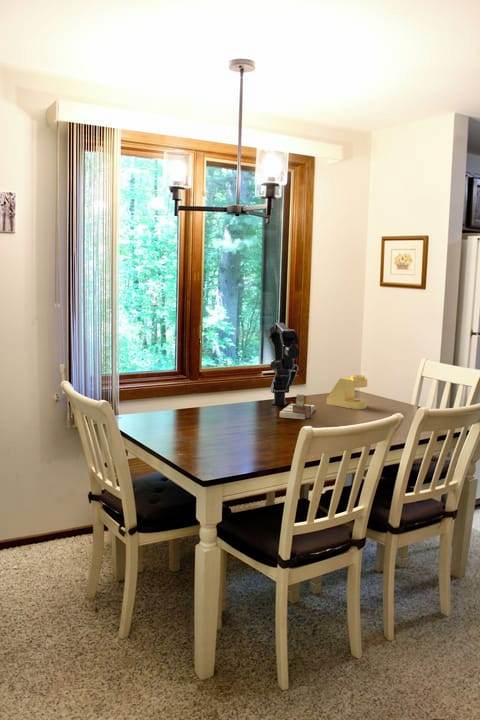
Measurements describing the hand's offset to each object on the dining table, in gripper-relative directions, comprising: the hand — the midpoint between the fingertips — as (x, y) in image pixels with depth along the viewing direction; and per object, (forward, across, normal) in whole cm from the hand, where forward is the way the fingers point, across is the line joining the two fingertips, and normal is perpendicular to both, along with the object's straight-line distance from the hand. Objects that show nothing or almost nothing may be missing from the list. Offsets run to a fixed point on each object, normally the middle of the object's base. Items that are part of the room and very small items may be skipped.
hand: (287, 387), depth 324 cm
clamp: (+12, -24, +26) cm, 37 cm away
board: (+12, +3, +6) cm, 14 cm away
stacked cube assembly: (+11, +10, +10) cm, 18 cm away
